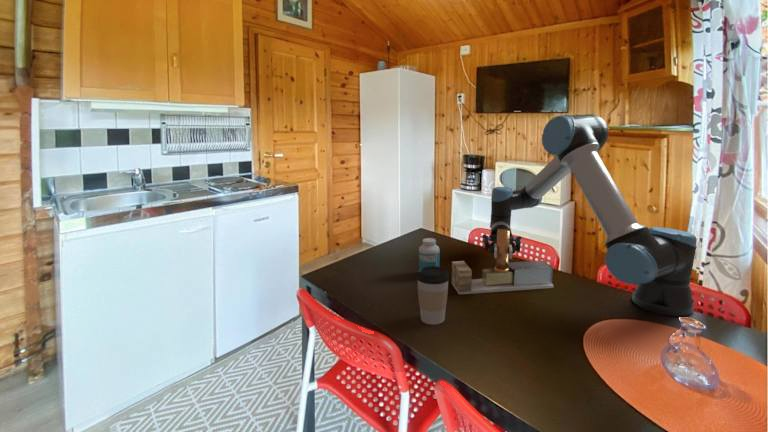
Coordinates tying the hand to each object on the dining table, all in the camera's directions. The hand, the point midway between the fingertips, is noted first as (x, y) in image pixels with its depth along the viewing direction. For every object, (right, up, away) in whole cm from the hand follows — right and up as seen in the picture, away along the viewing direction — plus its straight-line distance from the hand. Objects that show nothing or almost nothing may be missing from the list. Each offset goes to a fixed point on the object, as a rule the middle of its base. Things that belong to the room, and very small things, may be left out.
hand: (503, 254), depth 130 cm
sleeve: (+11, -11, +9) cm, 18 cm away
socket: (-12, -12, +7) cm, 18 cm away
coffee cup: (-24, -17, -13) cm, 32 cm away
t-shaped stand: (+6, -10, +8) cm, 14 cm away
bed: (+2, -11, +8) cm, 14 cm away
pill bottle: (-22, -10, +19) cm, 30 cm away
